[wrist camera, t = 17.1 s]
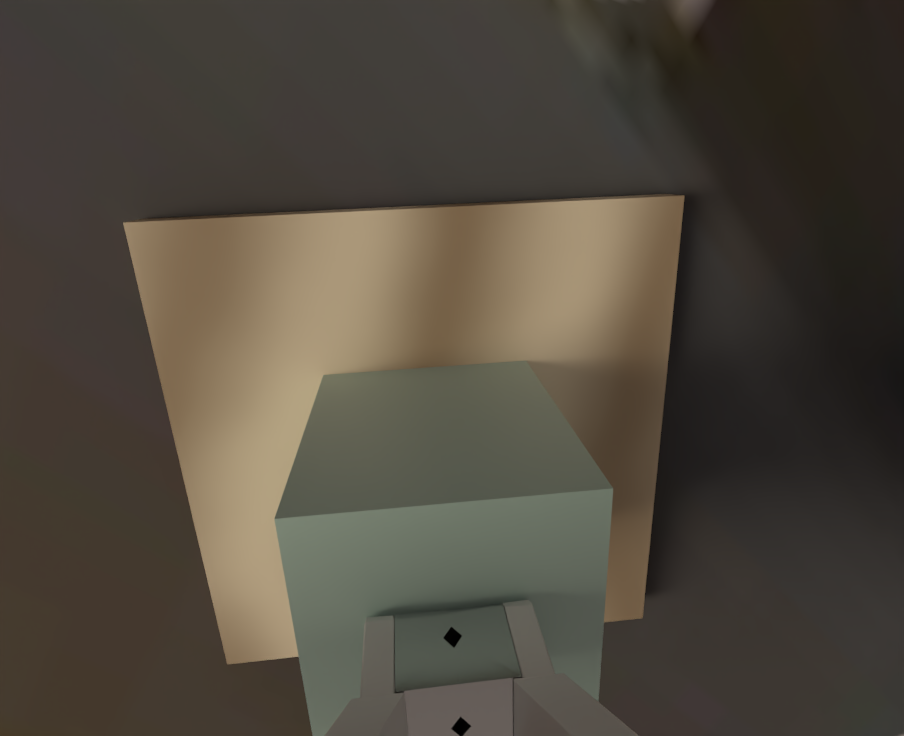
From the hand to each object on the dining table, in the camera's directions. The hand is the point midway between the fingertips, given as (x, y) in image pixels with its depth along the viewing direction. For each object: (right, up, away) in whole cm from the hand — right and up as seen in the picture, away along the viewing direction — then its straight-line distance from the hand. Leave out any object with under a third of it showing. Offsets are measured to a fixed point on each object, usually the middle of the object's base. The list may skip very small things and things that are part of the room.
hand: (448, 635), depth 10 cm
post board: (-1, +3, +7) cm, 8 cm away
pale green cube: (-1, +2, +6) cm, 7 cm away
